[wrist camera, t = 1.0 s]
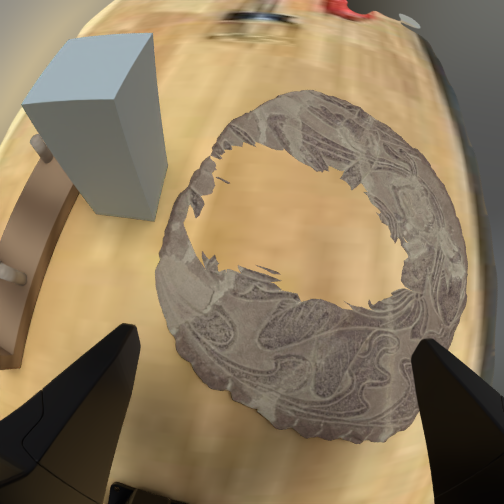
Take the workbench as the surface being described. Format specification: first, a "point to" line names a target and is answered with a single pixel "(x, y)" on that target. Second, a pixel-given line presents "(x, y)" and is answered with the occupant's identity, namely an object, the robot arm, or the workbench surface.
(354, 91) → the workbench surface
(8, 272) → the rail
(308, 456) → the workbench surface
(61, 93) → the frame block
